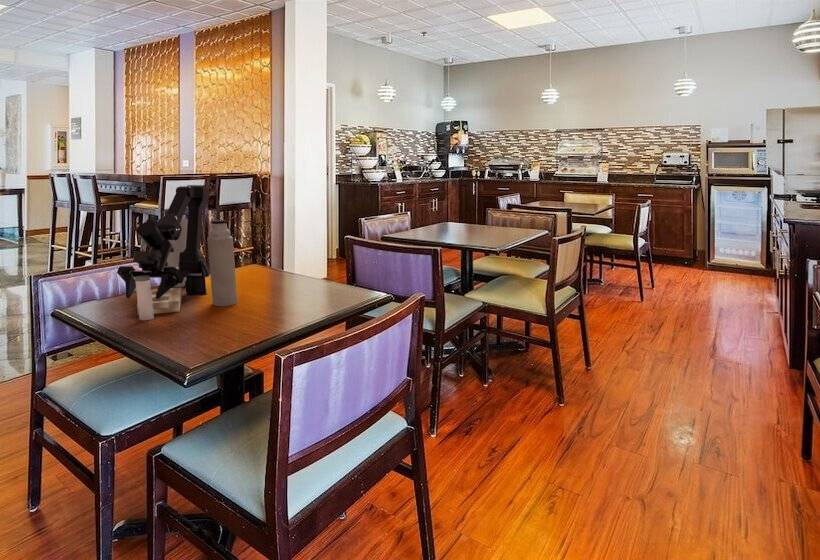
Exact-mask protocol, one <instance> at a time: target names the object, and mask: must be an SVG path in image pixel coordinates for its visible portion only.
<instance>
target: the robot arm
mask: <svg viewBox="0 0 820 560" xmlns="http://www.w3.org/2000/svg"><path fill="white" fill-rule="evenodd" d="M210 194H211V193H210V189H209V188H208V187H207V186H206V185H205V184H188V185H186V186H184V185H183V186H182V185H181V186H178V187H176V188H175V195H174V197H173V199H172V200H171V203H170V205H169V207H168V209H167V211H166V214H165V215H164V216H162V217H160V218H159V219H158V220H157V221H158V222H156V220H155V219H151V218H150V219H149V218H147V219H146V221H145V222H143V223H142V222H141V224H139V226H137V228H136V234H137V235H138V237H140V239H141V240H142V242H143V243H144V244H145V245H146V247H148V248H149V247H150V248H149V250H148V251H145V250H139V251H138V250H136V251H135V250H134V252H133V258H132V262H133V263H137V264H138V267H139V268H140V269H141V270H140V269H139V270H137V269H136V268H135V267H134V266H133V265H120V266H119V267H118V268H117V270H116V274H117V275H118V276H119V277H120V279H122V281H124V283H125V297H126V299H127V300H129V299H130V298H131V296H132V295H133V294H134V292H135V291H136V282H135V277H136V276H142V275H148V276H150V279H151V278H157V279H158V278H159V279H160V283H159V285H158V287H157V288H158V291H157V293H156V299H159V298H160V297H161V296H162V295H164V294H165V293H166V292H167V291H168V290H170V289H171V288H175V287H174V286H176V285H178V283H180V284H182V283H183V280H184V277H186V279H187V280H185V287H184V288H185V293H187V294H186V295H187V296H193V295H194V296H195V295H206V294H207V293H208V290H207V285H206V283H207V281H206V278H209V276H210V266H209V265H208V264H207V263H206V259H205V255H204V253H203V252H202V250H201V245H202V232H203V231H202V229H203V213H204V210H205V208H206V207H207V205H208V204H209V198H210V196H211V195H210ZM186 210H187V219H188V222H187V238H186V249H185V250H184V251H183V252H180V254H179V265H178V266H179V269H178V267H165V266H168V263H167V259H168V256H169V253H170V252H174V248H173V247H172V244H171V243H170V242H169V241H168V240H178V239H179V237H180V235H181V231H182V227H181V224H180V223H181V220H182V219H184V218H183V217H184V215H185V212H186Z"/></svg>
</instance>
